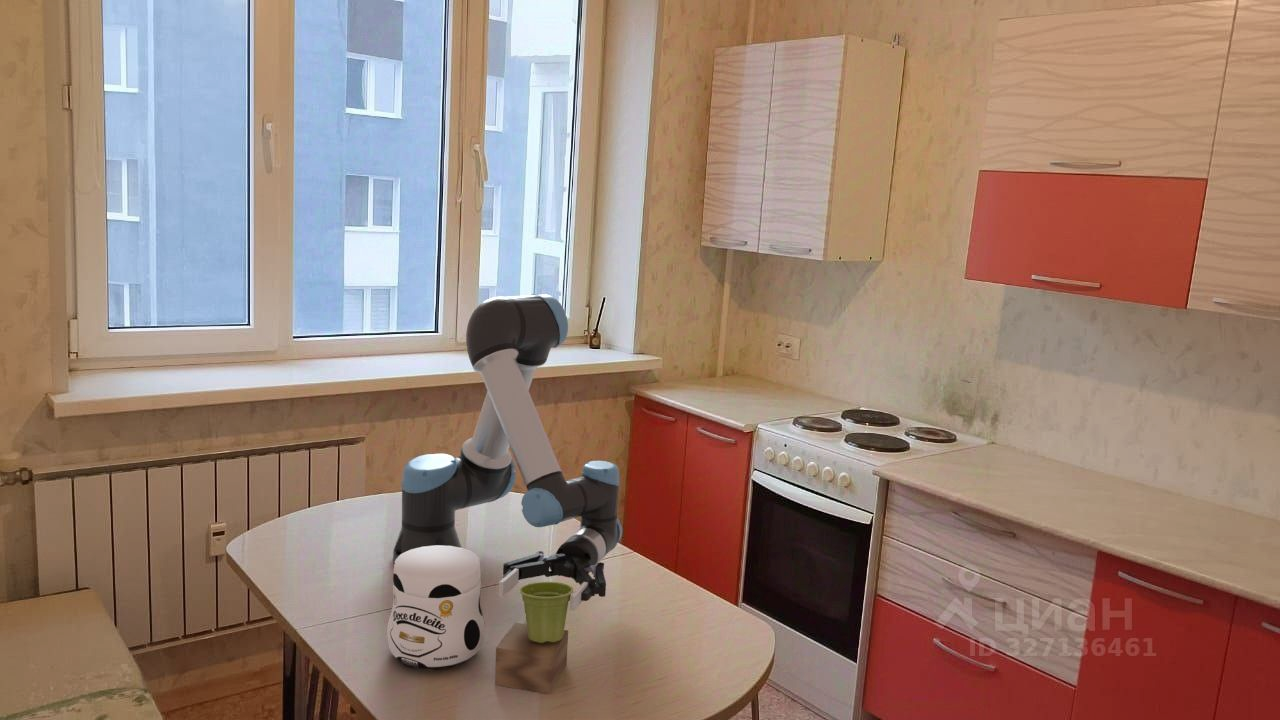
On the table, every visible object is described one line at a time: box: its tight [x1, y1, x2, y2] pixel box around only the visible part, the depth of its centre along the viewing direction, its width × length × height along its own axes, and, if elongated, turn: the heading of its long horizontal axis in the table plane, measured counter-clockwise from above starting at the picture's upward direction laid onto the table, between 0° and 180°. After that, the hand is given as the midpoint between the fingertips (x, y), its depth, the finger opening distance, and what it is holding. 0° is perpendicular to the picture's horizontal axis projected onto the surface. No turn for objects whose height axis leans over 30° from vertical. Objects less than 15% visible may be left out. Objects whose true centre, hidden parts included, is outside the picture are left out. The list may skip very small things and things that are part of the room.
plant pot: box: [519, 581, 574, 643], centre depth 170 cm, size 9×9×9 cm
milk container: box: [386, 545, 485, 670], centre depth 176 cm, size 17×17×18 cm
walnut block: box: [494, 621, 569, 695], centre depth 171 cm, size 10×10×7 cm
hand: (536, 596), depth 170 cm, fingers open, 13 cm apart
